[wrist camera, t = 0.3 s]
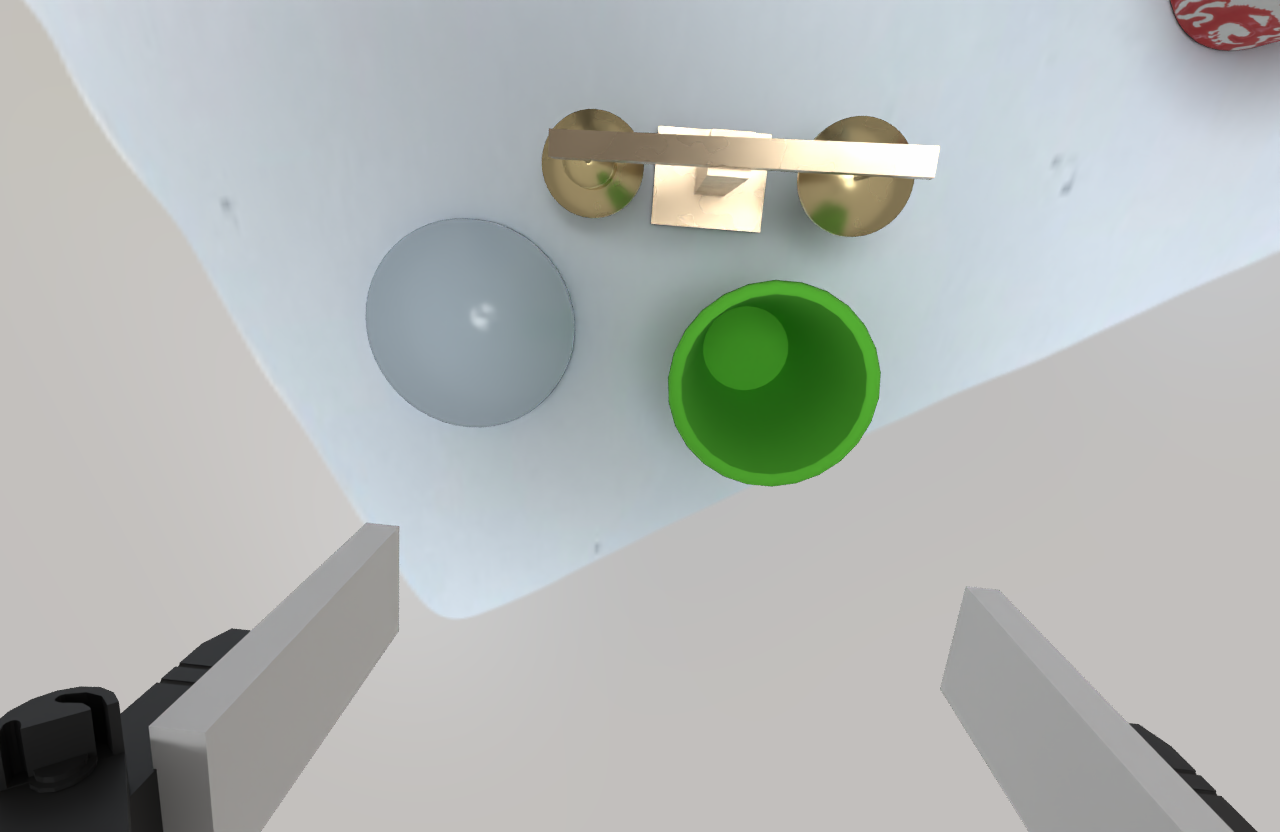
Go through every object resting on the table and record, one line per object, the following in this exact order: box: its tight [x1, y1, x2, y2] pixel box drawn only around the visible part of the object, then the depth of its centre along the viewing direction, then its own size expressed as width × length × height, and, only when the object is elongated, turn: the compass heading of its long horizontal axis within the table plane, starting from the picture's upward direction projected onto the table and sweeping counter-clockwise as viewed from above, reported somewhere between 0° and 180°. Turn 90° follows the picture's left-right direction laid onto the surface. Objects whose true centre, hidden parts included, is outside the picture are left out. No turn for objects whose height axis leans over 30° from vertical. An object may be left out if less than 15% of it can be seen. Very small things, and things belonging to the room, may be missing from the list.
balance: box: [542, 109, 940, 237], centre depth 29 cm, size 17×5×14 cm, turn 86°
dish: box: [366, 219, 575, 427], centre depth 38 cm, size 12×12×1 cm
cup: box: [668, 280, 881, 486], centre depth 33 cm, size 9×9×11 cm
